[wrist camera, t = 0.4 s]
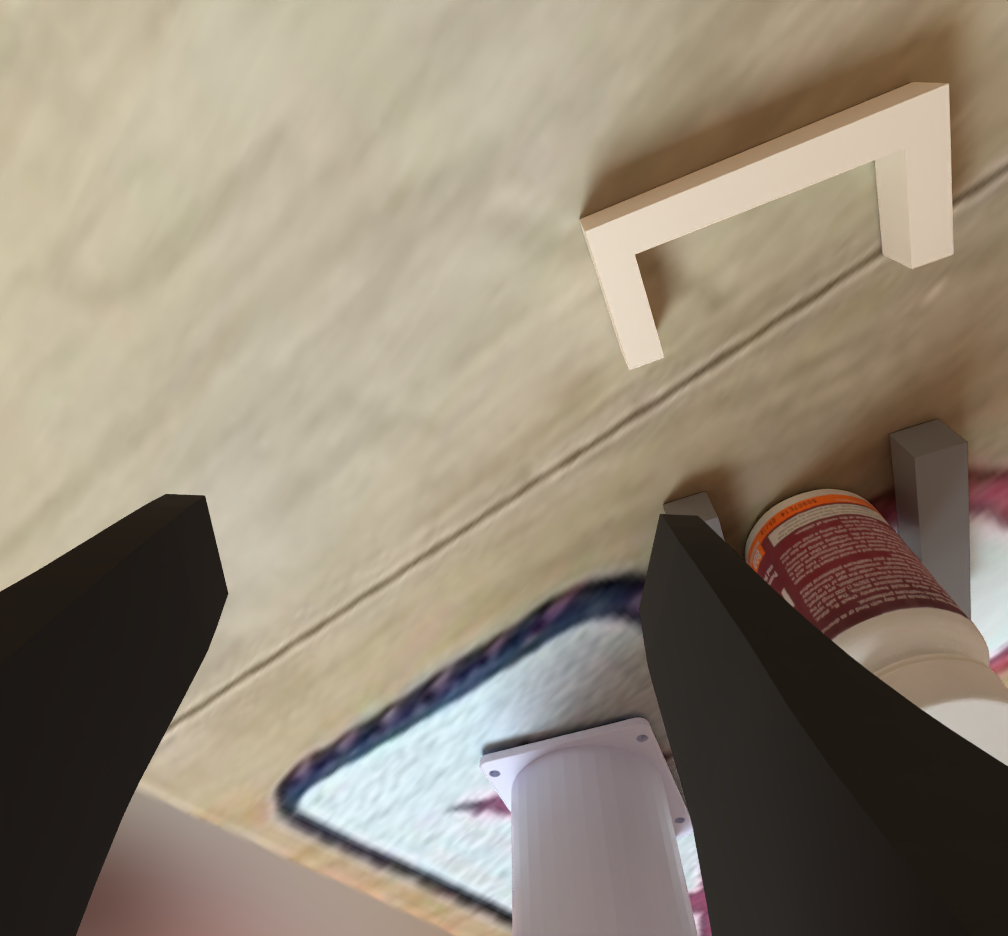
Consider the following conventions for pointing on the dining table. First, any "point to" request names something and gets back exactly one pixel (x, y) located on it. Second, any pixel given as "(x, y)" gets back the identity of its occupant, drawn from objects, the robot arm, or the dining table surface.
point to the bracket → (778, 172)
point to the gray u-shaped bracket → (913, 503)
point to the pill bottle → (882, 609)
